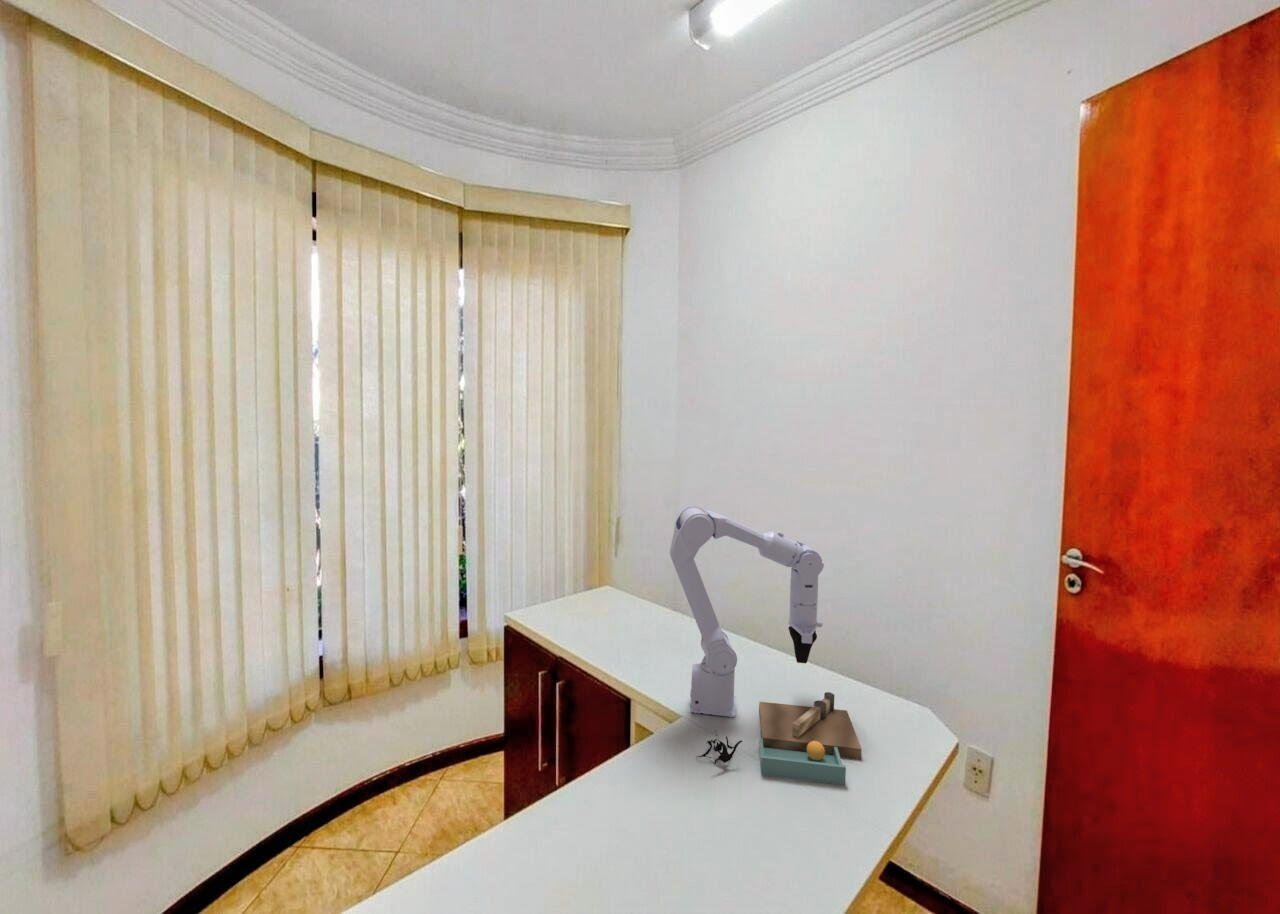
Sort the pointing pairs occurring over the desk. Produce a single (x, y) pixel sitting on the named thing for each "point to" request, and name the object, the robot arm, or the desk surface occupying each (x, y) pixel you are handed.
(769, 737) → the board
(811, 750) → the ball
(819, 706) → the lever
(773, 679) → the desk surface
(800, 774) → the teal shallow crate
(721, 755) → the creature
